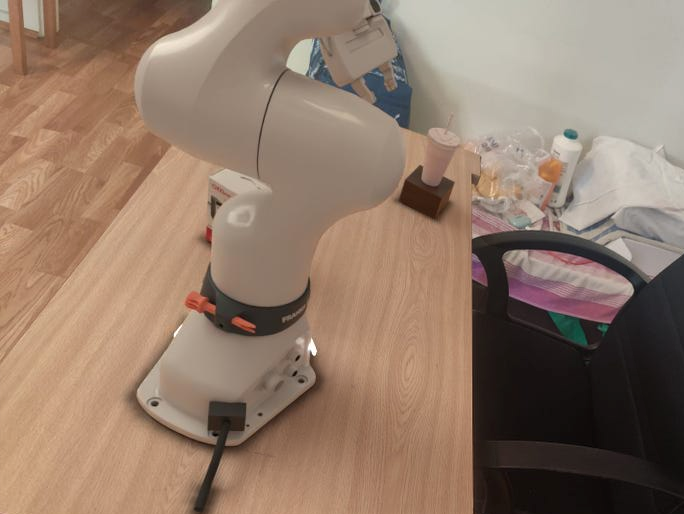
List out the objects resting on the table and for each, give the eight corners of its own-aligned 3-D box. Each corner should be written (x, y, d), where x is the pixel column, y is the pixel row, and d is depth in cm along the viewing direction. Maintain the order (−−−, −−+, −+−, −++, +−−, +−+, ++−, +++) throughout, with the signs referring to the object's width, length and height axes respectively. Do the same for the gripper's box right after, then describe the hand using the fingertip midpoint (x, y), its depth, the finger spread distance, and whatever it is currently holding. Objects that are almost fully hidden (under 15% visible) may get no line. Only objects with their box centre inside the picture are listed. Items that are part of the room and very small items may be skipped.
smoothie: (447, 179, 122) (469, 114, 113) (443, 194, 117) (466, 128, 108) (417, 167, 121) (437, 101, 112) (412, 182, 116) (432, 115, 107)
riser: (434, 219, 120) (441, 197, 116) (398, 201, 120) (404, 179, 116) (447, 202, 126) (455, 182, 122) (413, 185, 125) (419, 164, 122)
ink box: (203, 239, 94) (205, 174, 86) (225, 227, 97) (229, 163, 89) (249, 267, 93) (255, 203, 85) (270, 254, 97) (277, 192, 89)
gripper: (329, 19, 94) (372, 106, 101) (383, -1, 109) (417, 76, 116) (300, 36, 97) (343, 119, 104) (356, 14, 112) (391, 88, 119)
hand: (382, 96), depth 110 cm, fingers open, 8 cm apart
